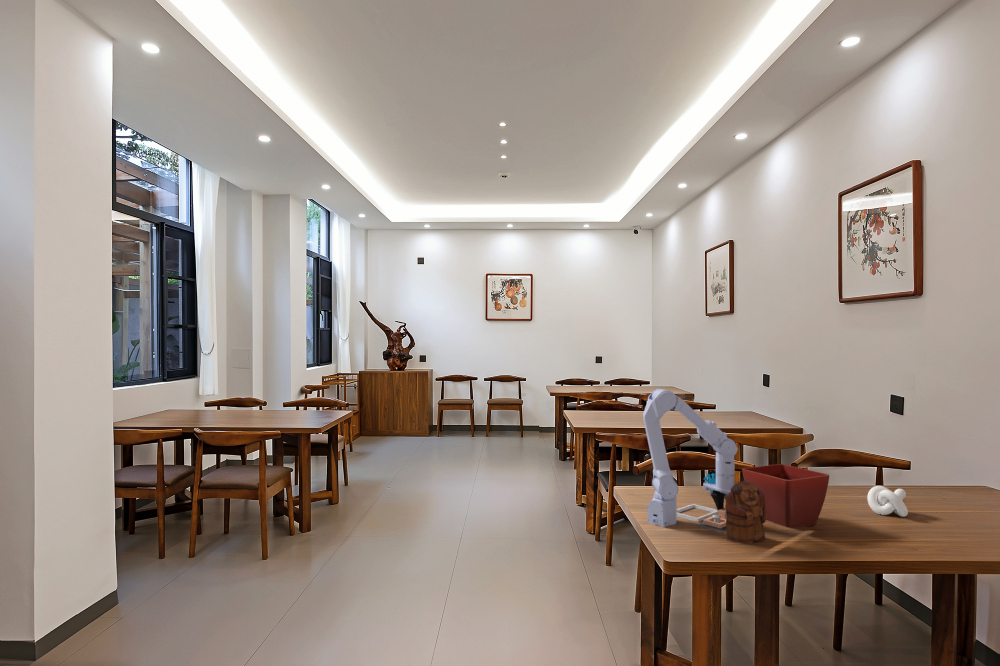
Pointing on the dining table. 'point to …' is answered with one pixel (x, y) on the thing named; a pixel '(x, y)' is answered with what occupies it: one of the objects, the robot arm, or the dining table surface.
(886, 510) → the white knot sculpture
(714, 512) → the tray
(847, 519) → the dining table surface
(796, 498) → the plant pot
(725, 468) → the robot arm
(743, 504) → the wooden figurine
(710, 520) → the ring
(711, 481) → the gear
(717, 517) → the grey plate with knob
